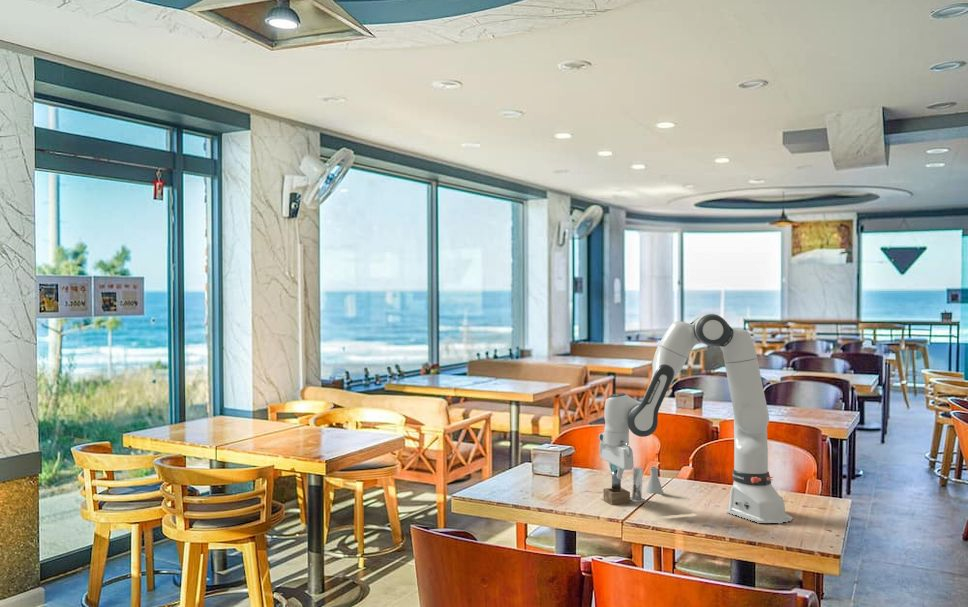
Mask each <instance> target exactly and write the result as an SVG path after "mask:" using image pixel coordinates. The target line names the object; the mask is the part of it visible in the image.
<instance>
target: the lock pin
mask: <svg viewBox="0 0 968 607" xmlns="http://www.w3.org/2000/svg"><path fill="white" fill-rule="evenodd" d="M643 473H644V469H643V468H642V467H633V469H632V489H631V490H632V491H631V492H632V493H631V495H632V496H631V497H632V499H634V500H641V499H642V498H643V496H642V494H643V477H644V476H643V475H644V474H643Z"/></svg>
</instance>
